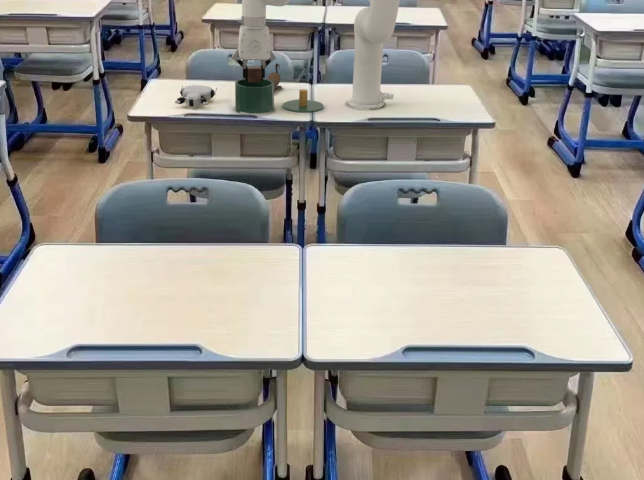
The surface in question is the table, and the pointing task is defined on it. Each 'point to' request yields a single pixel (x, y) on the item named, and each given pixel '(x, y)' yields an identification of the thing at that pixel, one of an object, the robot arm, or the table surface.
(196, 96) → the robot toy
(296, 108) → the lid
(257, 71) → the block
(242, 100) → the tin
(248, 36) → the robot arm
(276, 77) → the figurine
